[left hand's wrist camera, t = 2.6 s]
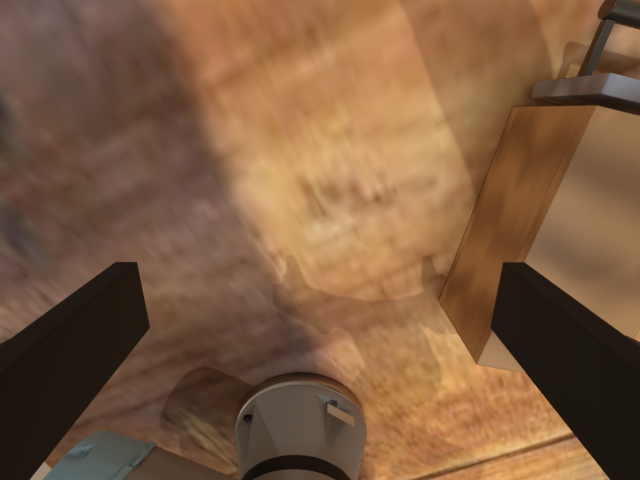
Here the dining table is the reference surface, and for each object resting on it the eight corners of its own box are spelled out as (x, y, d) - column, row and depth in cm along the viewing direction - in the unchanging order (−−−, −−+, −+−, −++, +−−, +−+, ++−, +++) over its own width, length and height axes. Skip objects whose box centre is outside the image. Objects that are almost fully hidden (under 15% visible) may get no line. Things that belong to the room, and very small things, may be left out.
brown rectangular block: (512, 106, 29) (596, 105, 20) (629, 134, 30) (759, 144, 21) (438, 301, 36) (476, 365, 27) (534, 320, 37) (603, 387, 28)
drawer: (565, 7, 26) (658, -32, 19) (680, 37, 27) (813, 11, 19) (457, 280, 34) (493, 325, 27) (547, 298, 35) (606, 347, 27)
